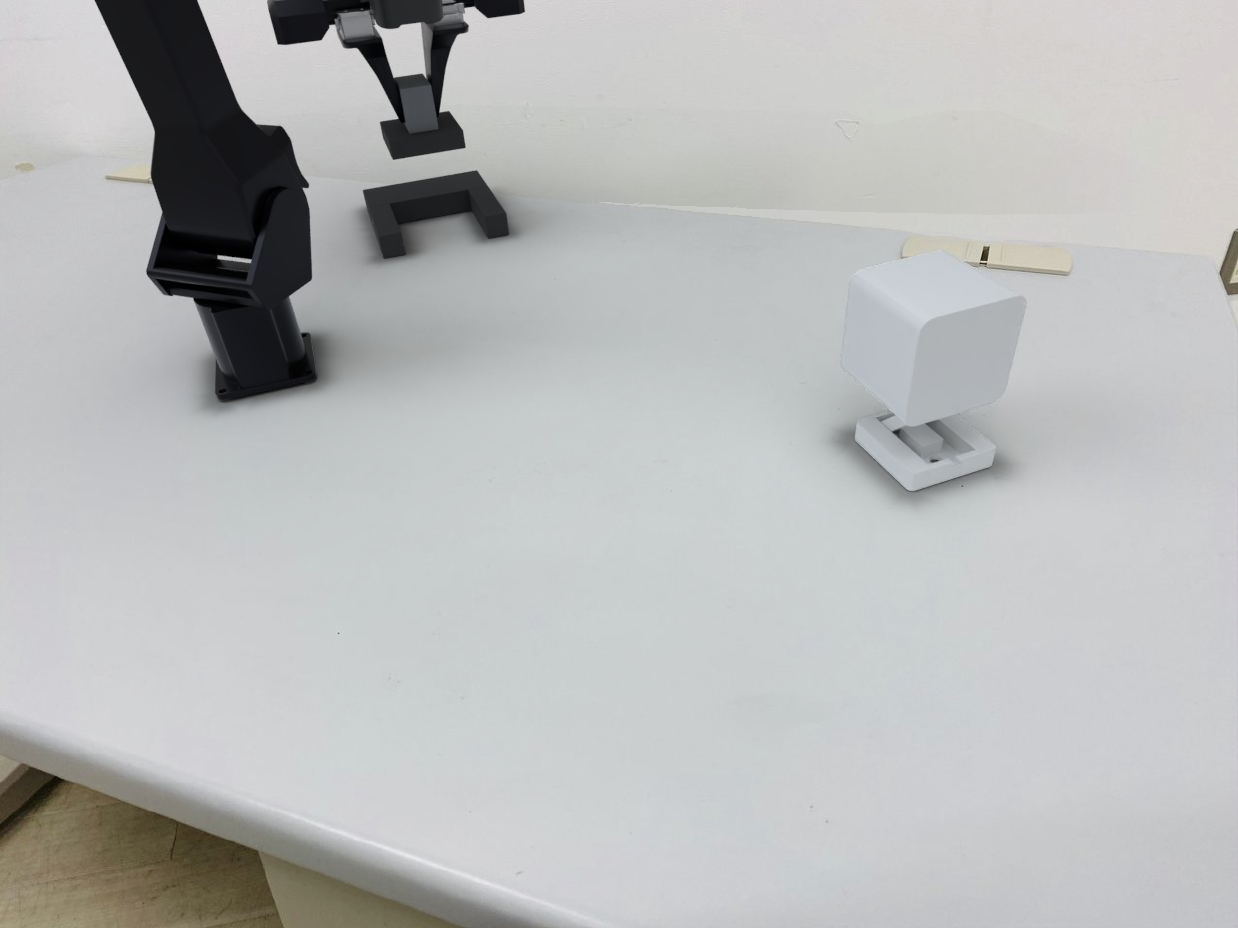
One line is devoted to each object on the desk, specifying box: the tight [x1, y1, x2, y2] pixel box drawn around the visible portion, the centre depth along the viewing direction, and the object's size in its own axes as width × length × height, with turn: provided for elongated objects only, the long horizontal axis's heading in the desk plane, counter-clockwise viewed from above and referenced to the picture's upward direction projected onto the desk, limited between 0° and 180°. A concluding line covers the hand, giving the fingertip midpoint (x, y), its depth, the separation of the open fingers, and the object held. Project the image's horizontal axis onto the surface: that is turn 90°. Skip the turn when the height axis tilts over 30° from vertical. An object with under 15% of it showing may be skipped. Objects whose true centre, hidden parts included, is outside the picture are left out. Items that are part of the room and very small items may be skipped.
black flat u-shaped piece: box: [362, 169, 510, 259], centre depth 81 cm, size 12×11×2 cm
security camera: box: [839, 249, 1028, 492], centre depth 48 cm, size 6×7×10 cm
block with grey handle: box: [379, 73, 467, 161], centre depth 73 cm, size 6×6×5 cm
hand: (418, 119), depth 73 cm, fingers closed on block with grey handle, 2 cm apart
